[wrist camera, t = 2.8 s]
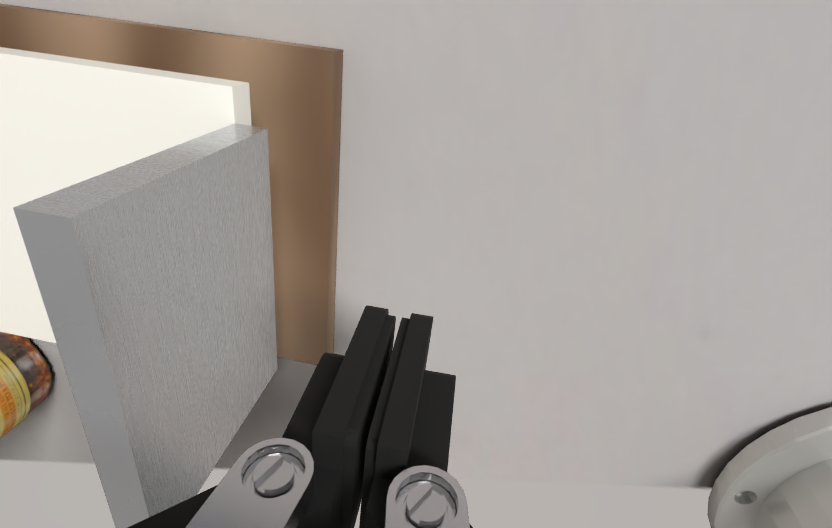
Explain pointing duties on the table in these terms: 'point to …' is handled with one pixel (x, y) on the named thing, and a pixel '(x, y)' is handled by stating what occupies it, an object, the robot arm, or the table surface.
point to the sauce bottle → (20, 379)
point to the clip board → (270, 108)
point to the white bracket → (139, 260)
